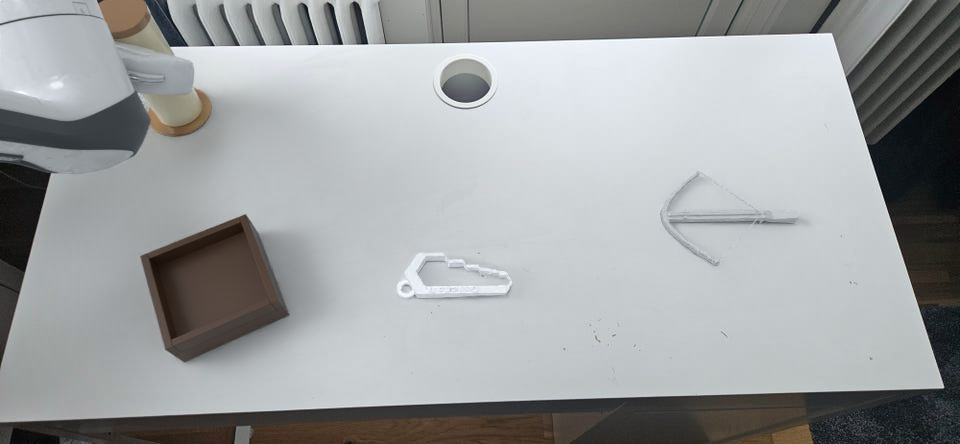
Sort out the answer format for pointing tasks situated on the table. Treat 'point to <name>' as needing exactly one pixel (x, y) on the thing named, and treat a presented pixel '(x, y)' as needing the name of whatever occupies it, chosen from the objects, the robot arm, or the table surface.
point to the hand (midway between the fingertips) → (150, 56)
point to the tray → (212, 288)
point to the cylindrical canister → (139, 28)
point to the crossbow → (718, 218)
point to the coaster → (183, 129)
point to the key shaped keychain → (446, 291)
